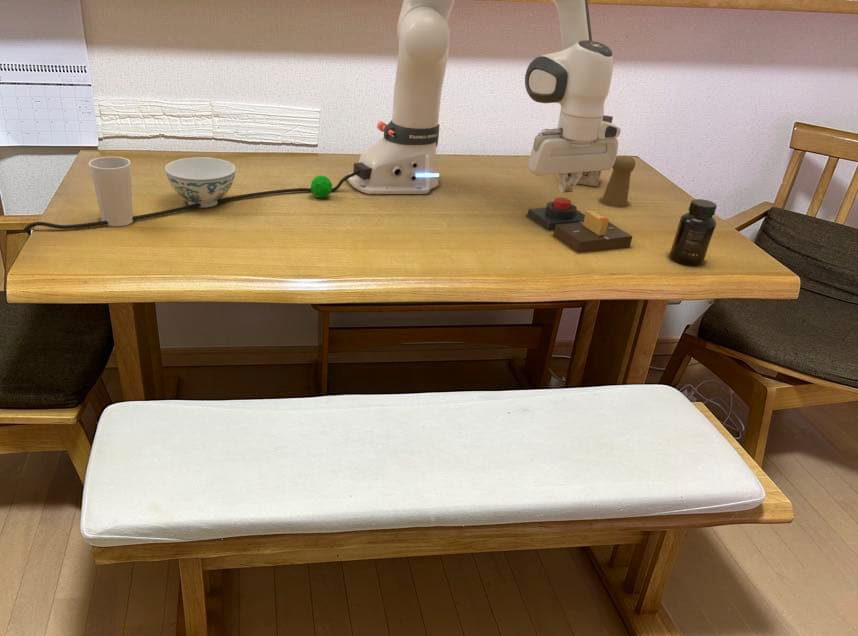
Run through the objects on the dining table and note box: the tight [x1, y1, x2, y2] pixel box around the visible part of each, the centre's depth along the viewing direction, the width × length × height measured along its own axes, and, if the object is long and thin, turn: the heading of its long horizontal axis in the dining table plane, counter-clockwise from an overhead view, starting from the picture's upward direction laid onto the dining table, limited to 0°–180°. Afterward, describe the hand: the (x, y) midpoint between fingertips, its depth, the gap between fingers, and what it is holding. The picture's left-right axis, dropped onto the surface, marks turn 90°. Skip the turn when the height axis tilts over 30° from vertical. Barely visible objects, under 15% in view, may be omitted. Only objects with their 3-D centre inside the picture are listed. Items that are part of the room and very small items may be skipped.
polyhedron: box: [310, 175, 333, 199], centre depth 173 cm, size 5×5×5 cm
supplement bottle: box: [669, 198, 717, 267], centre depth 152 cm, size 7×7×12 cm
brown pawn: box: [601, 155, 636, 208], centre depth 179 cm, size 6×6×11 cm
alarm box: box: [526, 201, 585, 231], centre depth 169 cm, size 11×9×4 cm
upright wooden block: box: [583, 210, 610, 236], centre depth 158 cm, size 6×2×3 cm, turn 21°
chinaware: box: [164, 156, 237, 209], centre depth 165 cm, size 15×15×8 cm
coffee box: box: [565, 114, 614, 187], centre depth 190 cm, size 9×6×16 cm
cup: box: [88, 156, 134, 227], centre depth 153 cm, size 8×8×12 cm
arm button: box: [553, 197, 572, 210], centre depth 168 cm, size 4×4×2 cm
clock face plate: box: [553, 221, 633, 254], centre depth 160 cm, size 13×10×3 cm
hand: (565, 191), depth 166 cm, fingers closed
